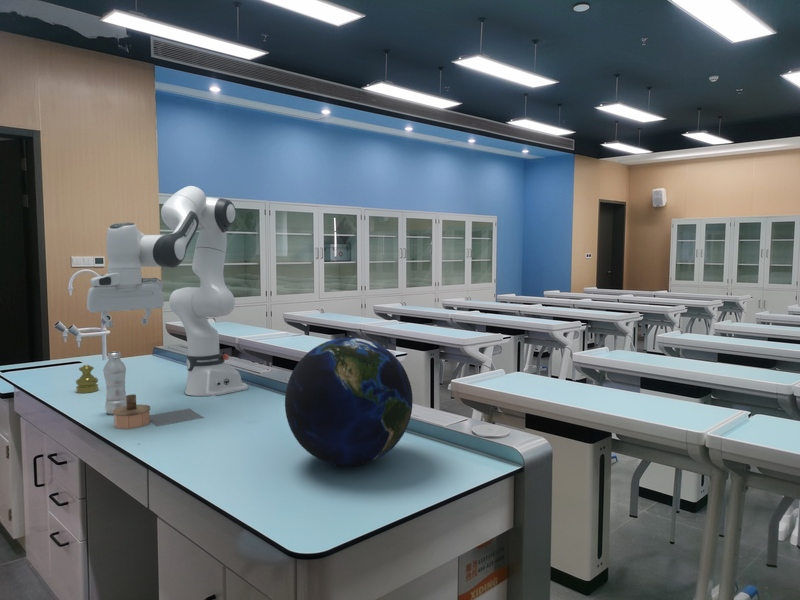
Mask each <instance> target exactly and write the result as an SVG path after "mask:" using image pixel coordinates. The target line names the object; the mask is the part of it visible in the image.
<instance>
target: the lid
mask: <svg viewBox="0 0 800 600" xmlns="http://www.w3.org/2000/svg"><path fill="white" fill-rule="evenodd" d="M126 401H127V406H123V407H119V408H116V409H114V410H113V415H112V416H114V415H116V416H132V415H139V414H143V413H146V412H148V411H149V412H150V411H151V406H150V405H148V404H137V394H132V393H131V394H126Z"/></svg>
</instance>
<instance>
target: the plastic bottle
mask: <svg viewBox="0 0 800 600" xmlns="http://www.w3.org/2000/svg"><path fill="white" fill-rule="evenodd" d="M121 358H122V355H121V351H109V352H108V353H107V359H108V360H107V362H106V363H105V365H104V366H103V369H102V371H103V375H104V380H105V387H106V388H105V391H106V396H105V405H104V409H105V412H106V413H107V415H110V416H114V415H113V410H114V409H116V408H119V407H123V406H127V401H126V396H127V394H126V385H125V384H126V373H127V367H126V365H125V363H124V361H122V359H121Z"/></svg>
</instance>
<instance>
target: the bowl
mask: <svg viewBox="0 0 800 600" xmlns="http://www.w3.org/2000/svg"><path fill="white" fill-rule="evenodd" d="M150 415H151V414H150V411H148V412H146V413H143V414H139V415H132V416H116V415H113V424H114V425H113V426H114V427H115V428H116V429H118V430H119V429H120V430H121V429H122V430H129V429H130V430H131V429H136V428H141V427H144V426H146V425H149V424H150V423H151V422H150Z"/></svg>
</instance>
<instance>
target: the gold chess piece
mask: <svg viewBox="0 0 800 600" xmlns="http://www.w3.org/2000/svg"><path fill="white" fill-rule="evenodd" d="M94 369H95V367H94V366H92V365H89V364H84V365H82V366H80V367H79V368H78V370H79V371H80V372H81V373H82V375H81V376H79V378H77V379H76V380H75V384H76V393H78V394H90V393H94V392H97V391H98V390H99V384H98V382H99V378H97V377H96V376H94V375H93V374H92V371H93V370H94Z"/></svg>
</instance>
